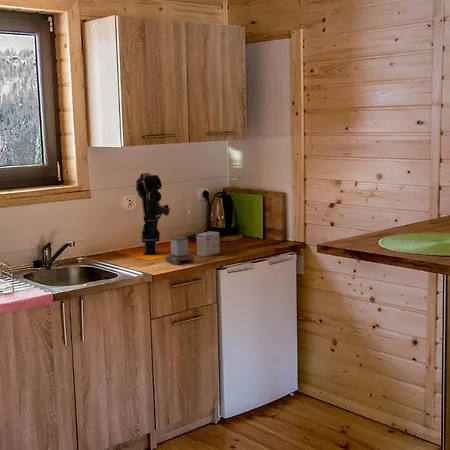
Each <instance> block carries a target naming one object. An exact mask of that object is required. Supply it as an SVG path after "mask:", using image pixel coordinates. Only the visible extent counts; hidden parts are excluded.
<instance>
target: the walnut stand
mask: <svg viewBox="0 0 450 450" xmlns="http://www.w3.org/2000/svg"><path fill="white" fill-rule="evenodd" d="M164 258H165V262H166V263H169V264H172V265H174V266H180V265H181V261H184V262H187V263H190V264H192V263H195V255H191V254H188V256H186V257H180V258H176V257H173V256H171V254H169V255H165V257H164Z"/></svg>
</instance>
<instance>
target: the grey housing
mask: <svg viewBox="0 0 450 450" xmlns="http://www.w3.org/2000/svg"><path fill="white" fill-rule="evenodd" d="M170 255H171V256H173V257H176V258H180V257H186V256H188V255H189V237H186V236H182V235H179V236H178V235H177V236H172V237H170Z"/></svg>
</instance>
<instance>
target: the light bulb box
mask: <svg viewBox="0 0 450 450" xmlns="http://www.w3.org/2000/svg"><path fill="white" fill-rule="evenodd" d="M220 250H221V249H220V231H211V230H209V231H206V232H202V233H196V255H197V256H203V257H208V256H212V255H216V254H220V252H221V251H220Z"/></svg>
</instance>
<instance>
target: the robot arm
mask: <svg viewBox="0 0 450 450" xmlns="http://www.w3.org/2000/svg"><path fill="white" fill-rule="evenodd" d="M162 186H163V185H162V180H161V178H160V176H159V175H158V174H151V173H149V172H145V173H140V176H139V178H137V180H136V182H135V192H136V193H137V196H138V197H139V198H140V200H141V204H142V211H143V212H142V213H143V217H142V219H143V221H144V222H143V223H144V224H143V225H142V226H143V227H142V230H141V234H140V240H141V241H140V242H141V243H144V252H143V253H142V254H143V255H157V254H158V250H157V245H156V243H157V242H158V243H159V242H160V237H161V236H160V235H161V232H159V231H160V230H159V229H158V225H159V224H158V222H159V220H160V219H161V217H162V216H163V215H164V216H166V217H168V216H169V214H170V212H171V208H170V207H169V204H164V205H160V201H161V200H162V194H161V192H160V191H159V190H162Z"/></svg>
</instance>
